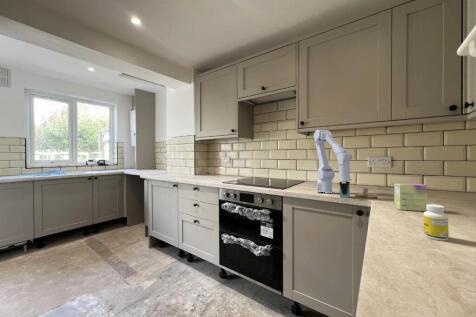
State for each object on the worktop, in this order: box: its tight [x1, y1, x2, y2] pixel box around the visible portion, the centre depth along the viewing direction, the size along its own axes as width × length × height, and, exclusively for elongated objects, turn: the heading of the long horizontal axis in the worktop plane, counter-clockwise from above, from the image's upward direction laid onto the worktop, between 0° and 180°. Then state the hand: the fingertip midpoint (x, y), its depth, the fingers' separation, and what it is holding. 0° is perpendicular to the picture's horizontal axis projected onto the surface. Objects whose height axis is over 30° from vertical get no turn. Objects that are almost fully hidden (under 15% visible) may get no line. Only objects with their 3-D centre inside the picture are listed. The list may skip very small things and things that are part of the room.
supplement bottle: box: [423, 203, 450, 242], centre depth 62 cm, size 5×5×10 cm
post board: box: [354, 187, 378, 200], centre depth 126 cm, size 11×11×5 cm
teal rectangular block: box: [339, 185, 351, 199], centre depth 125 cm, size 5×5×7 cm
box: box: [393, 182, 428, 212], centre depth 94 cm, size 10×6×12 cm, turn 74°
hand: (344, 193), depth 125 cm, fingers closed on teal rectangular block, 5 cm apart
